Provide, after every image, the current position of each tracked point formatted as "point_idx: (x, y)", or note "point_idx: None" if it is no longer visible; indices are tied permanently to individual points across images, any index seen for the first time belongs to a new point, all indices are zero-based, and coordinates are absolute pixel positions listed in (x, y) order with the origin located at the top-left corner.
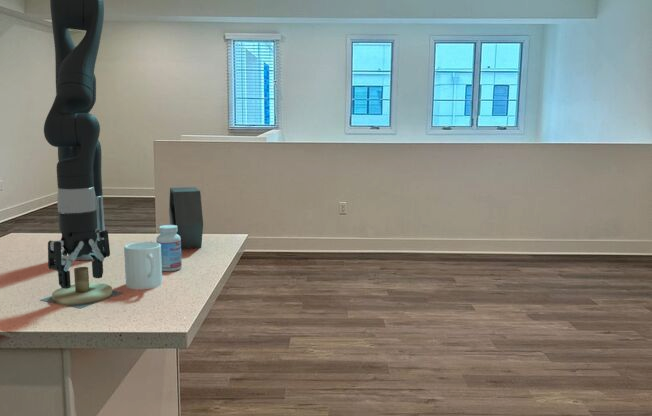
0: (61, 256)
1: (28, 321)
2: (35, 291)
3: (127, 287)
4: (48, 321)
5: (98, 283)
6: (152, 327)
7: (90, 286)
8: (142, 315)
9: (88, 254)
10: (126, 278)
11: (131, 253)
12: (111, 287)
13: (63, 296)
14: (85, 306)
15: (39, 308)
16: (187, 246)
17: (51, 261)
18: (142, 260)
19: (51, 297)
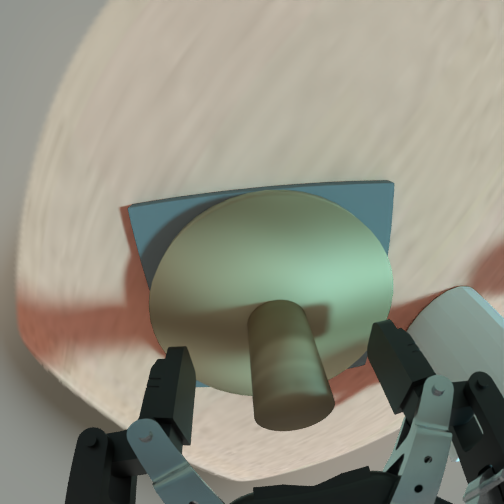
0: (164, 497)
1: (57, 334)
2: (228, 17)
3: (412, 331)
4: (95, 370)
5: (389, 285)
6: (225, 469)
7: (343, 296)
8: (256, 449)
9: (412, 428)
10: (430, 345)
11: (452, 443)
12: (358, 358)
13: (179, 326)
14: (205, 386)
15: (105, 267)
16: None
17: (89, 473)
18: None
19: (181, 216)
